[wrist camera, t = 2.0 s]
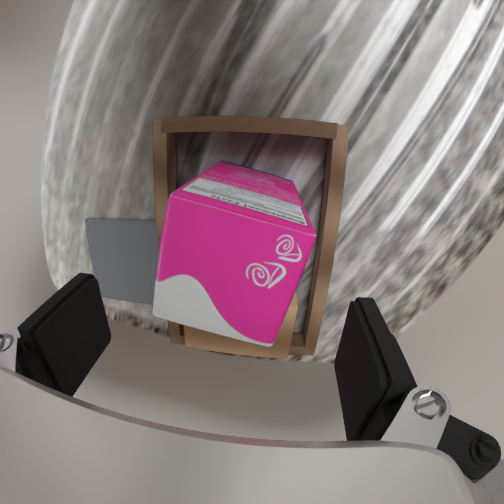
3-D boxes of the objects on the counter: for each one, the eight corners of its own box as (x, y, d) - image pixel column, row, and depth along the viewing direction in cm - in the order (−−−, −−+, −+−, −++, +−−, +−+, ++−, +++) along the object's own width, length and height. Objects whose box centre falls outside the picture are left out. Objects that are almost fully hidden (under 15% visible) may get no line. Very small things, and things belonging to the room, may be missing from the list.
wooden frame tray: (163, 119, 19) (147, 119, 16) (342, 126, 18) (353, 125, 16) (177, 329, 27) (167, 349, 24) (312, 341, 26) (314, 363, 23)
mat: (87, 218, 23) (84, 219, 23) (166, 220, 22) (164, 222, 22) (101, 294, 26) (99, 296, 26) (173, 304, 26) (172, 306, 25)
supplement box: (274, 250, 23) (270, 353, 12) (201, 229, 23) (143, 316, 12) (297, 180, 20) (320, 236, 10) (219, 158, 20) (158, 190, 10)
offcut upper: (191, 277, 22) (181, 294, 20) (295, 288, 22) (297, 307, 19) (193, 327, 24) (185, 346, 22) (286, 338, 24) (287, 359, 21)
